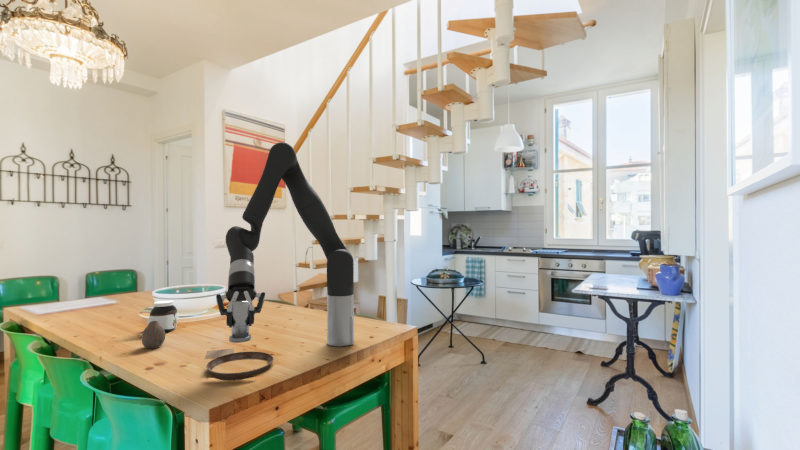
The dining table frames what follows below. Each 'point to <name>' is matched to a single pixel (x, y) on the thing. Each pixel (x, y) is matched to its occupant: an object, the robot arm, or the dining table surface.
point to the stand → (218, 353)
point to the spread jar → (164, 315)
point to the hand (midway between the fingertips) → (240, 325)
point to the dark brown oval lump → (153, 335)
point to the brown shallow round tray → (234, 357)
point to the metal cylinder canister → (240, 321)
